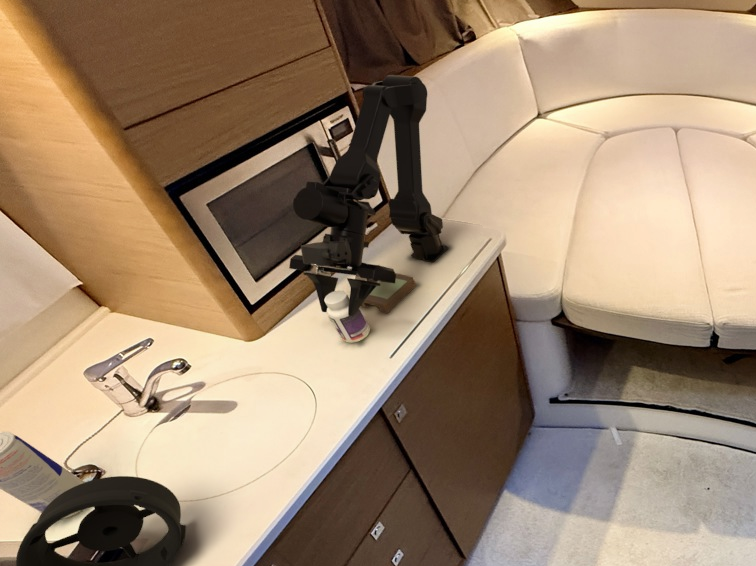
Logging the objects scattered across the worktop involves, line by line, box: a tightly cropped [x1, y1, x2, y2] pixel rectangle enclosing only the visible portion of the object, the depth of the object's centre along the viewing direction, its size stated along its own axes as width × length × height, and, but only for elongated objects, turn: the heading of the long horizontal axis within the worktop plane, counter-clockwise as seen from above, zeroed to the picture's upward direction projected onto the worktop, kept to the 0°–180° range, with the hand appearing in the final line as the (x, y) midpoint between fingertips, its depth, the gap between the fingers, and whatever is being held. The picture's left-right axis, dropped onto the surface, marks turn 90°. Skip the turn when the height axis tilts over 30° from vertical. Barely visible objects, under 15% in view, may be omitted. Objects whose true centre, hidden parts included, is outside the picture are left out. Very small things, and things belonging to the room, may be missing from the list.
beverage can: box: [0, 430, 86, 519], centre depth 73 cm, size 6×6×15 cm
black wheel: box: [15, 475, 187, 566], centre depth 68 cm, size 14×14×10 cm
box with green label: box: [360, 272, 417, 314], centre depth 112 cm, size 10×7×3 cm
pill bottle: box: [324, 290, 371, 343], centre depth 100 cm, size 5×5×10 cm
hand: (337, 314), depth 98 cm, fingers closed on pill bottle, 5 cm apart
